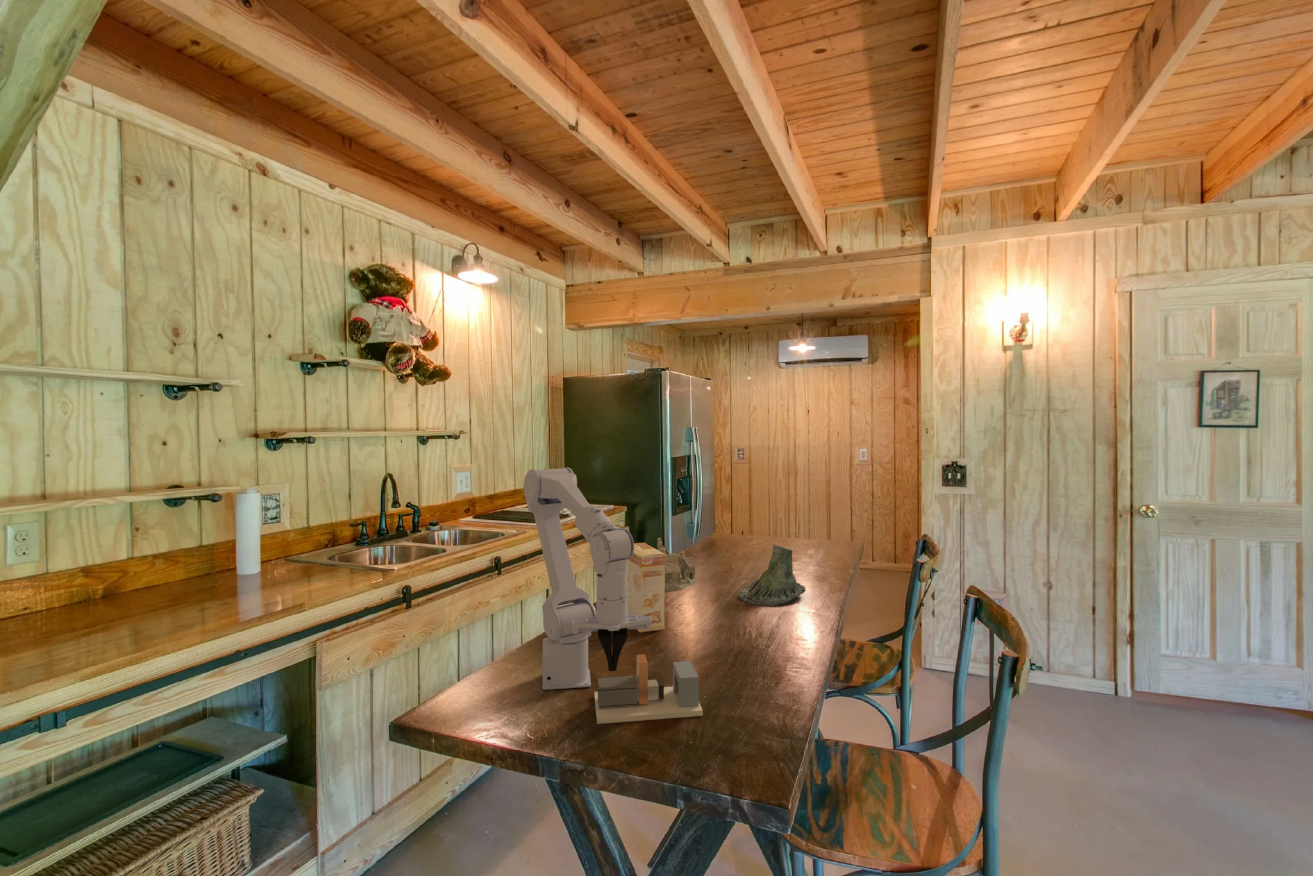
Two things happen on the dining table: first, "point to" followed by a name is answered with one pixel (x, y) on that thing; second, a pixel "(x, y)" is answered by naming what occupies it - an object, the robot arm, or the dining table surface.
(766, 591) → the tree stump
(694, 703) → the socket block
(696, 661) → the dining table surface
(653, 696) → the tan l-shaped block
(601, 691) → the cream rectangular panel
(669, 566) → the ceramic cottage
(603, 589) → the robot arm
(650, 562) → the coffeecake box
